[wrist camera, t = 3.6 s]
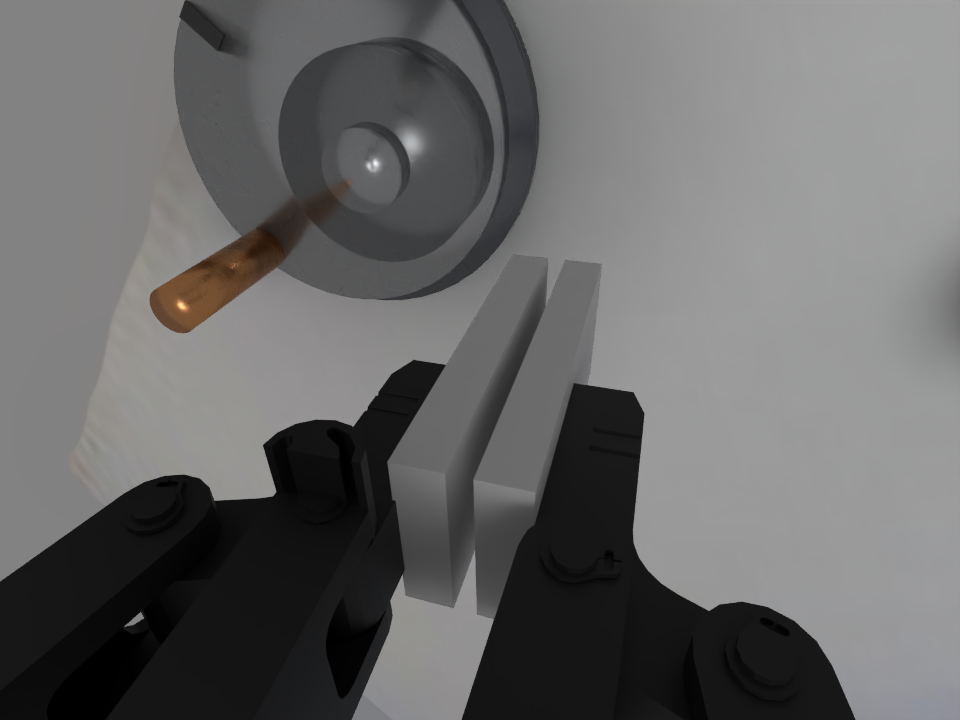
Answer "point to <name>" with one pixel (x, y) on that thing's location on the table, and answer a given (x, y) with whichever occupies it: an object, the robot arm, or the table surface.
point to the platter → (255, 147)
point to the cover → (386, 147)
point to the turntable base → (523, 135)
